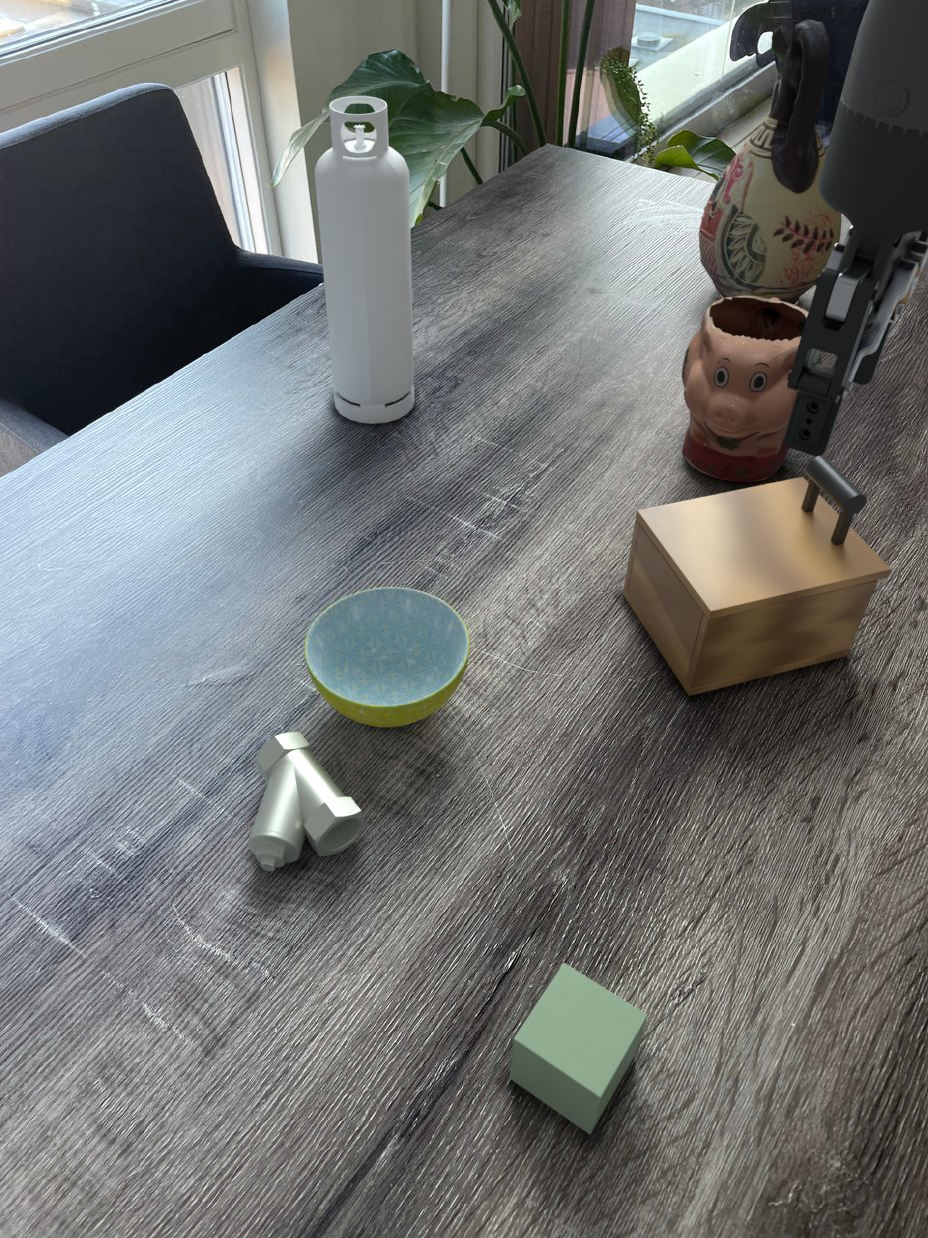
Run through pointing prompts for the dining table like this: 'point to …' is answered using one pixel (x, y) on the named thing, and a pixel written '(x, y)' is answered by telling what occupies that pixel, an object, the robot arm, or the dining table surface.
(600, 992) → the block
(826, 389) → the robot arm
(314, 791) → the pipe fitting
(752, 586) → the lid
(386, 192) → the bottle
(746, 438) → the decorative planter
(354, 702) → the bowl
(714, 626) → the chest
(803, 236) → the ceramic jug
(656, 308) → the dining table surface
